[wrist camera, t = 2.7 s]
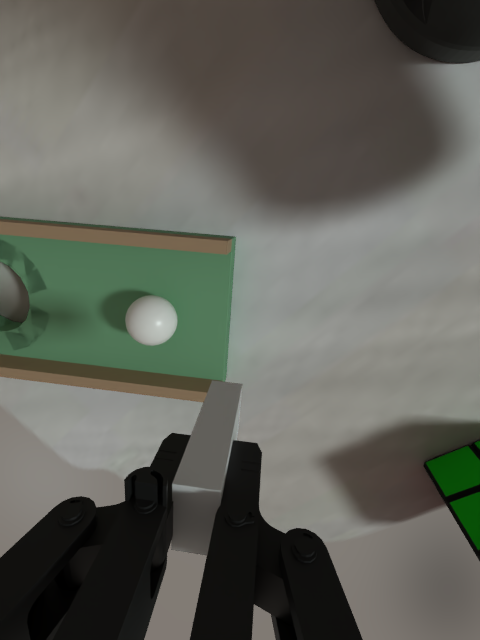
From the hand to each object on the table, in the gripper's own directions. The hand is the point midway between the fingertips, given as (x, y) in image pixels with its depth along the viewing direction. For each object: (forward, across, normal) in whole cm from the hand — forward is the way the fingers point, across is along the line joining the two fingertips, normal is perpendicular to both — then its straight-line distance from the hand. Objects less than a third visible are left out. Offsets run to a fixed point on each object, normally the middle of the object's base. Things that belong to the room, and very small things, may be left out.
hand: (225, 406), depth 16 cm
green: (+16, -16, 0) cm, 22 cm away
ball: (+11, -8, 0) cm, 14 cm away
